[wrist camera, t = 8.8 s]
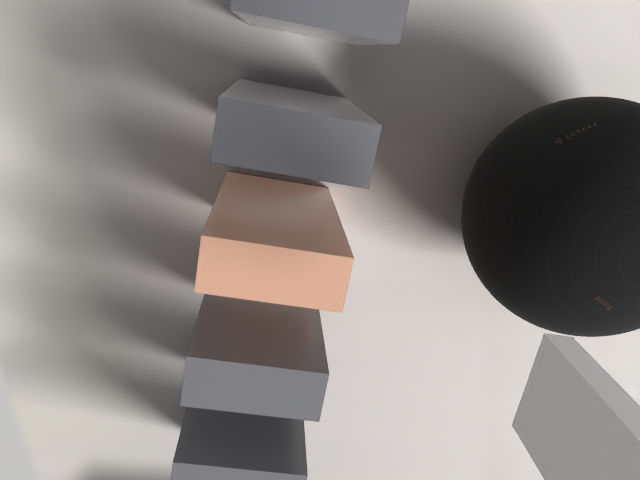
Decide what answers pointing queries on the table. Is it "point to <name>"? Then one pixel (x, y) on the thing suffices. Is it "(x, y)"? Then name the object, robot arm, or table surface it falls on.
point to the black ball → (561, 217)
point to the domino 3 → (274, 245)
